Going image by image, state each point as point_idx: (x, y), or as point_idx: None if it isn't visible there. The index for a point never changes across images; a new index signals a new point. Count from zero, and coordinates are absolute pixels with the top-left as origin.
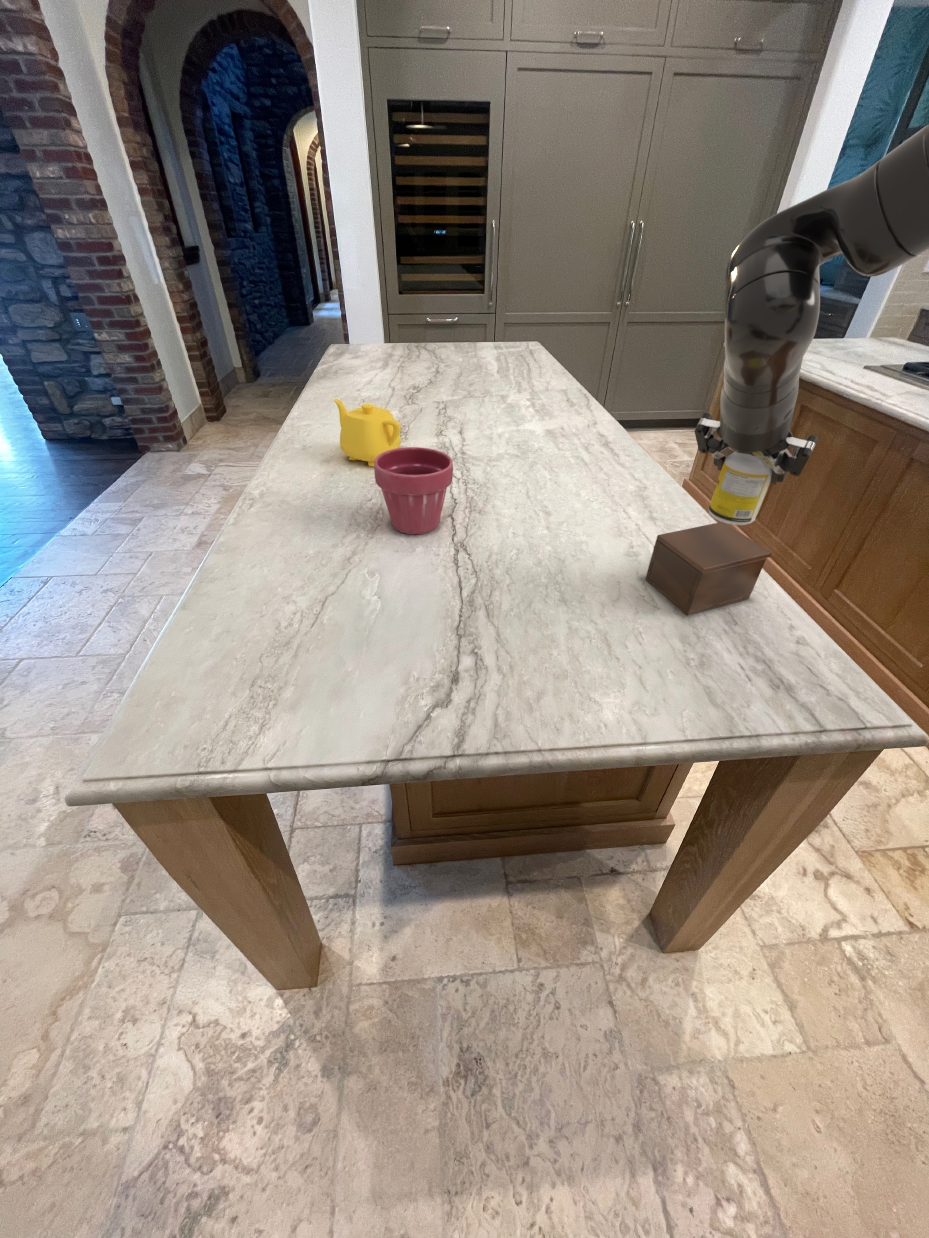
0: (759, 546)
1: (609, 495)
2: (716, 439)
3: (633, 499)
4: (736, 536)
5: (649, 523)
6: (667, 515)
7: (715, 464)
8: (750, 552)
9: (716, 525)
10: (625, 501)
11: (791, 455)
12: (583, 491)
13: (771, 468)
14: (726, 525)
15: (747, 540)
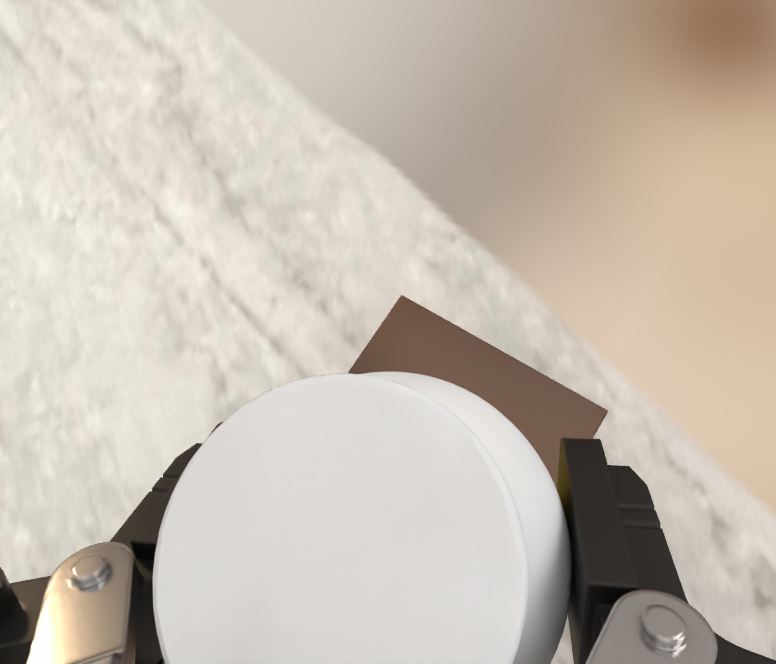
0: (556, 394)
1: (106, 163)
2: (11, 648)
3: (166, 143)
4: (469, 372)
5: (232, 234)
6: (263, 165)
7: None
8: (543, 460)
9: (391, 335)
10: (150, 166)
11: (712, 660)
12: (41, 186)
13: (554, 645)
14: (419, 313)
15: (509, 376)
